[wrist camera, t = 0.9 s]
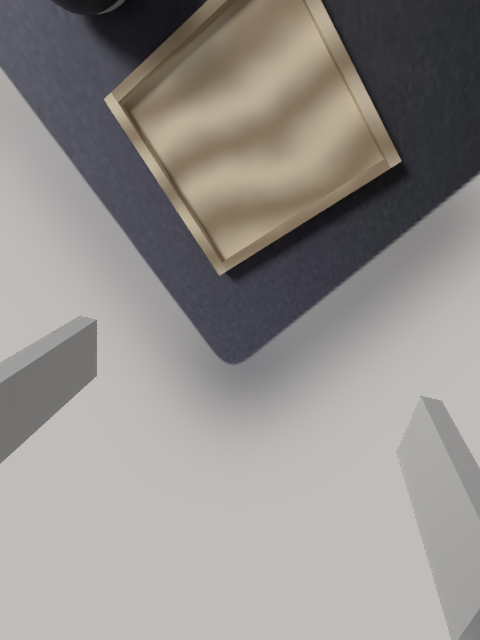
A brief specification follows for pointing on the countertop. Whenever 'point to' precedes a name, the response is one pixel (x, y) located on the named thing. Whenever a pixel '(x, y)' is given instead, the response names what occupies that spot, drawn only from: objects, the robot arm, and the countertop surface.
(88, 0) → the pump dispenser
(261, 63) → the birch tray
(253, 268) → the countertop surface
